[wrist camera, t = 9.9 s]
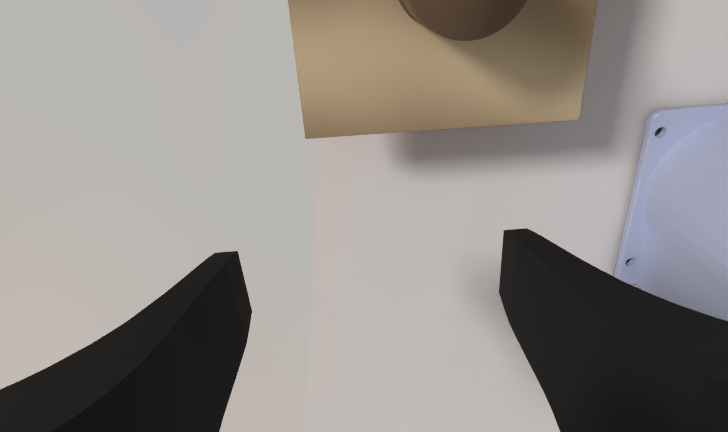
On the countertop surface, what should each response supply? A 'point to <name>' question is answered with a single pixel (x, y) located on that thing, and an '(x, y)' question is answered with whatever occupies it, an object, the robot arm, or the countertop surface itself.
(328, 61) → the lid
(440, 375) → the countertop surface
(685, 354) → the robot arm
